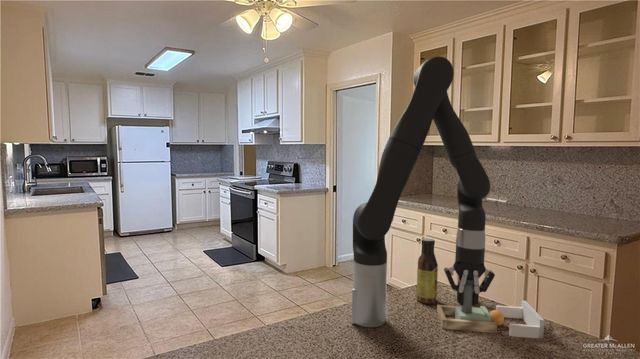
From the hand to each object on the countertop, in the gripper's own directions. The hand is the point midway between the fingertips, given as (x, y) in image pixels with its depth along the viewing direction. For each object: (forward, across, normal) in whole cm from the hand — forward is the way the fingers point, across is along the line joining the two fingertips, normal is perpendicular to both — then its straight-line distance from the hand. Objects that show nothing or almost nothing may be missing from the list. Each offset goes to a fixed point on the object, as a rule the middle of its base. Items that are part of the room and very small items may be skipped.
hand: (467, 304), depth 110 cm
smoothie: (+5, +3, +16) cm, 17 cm away
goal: (+5, +14, 0) cm, 15 cm away
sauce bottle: (+5, -9, +14) cm, 18 cm away
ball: (+3, +8, 0) cm, 8 cm away
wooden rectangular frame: (+5, 0, 0) cm, 5 cm away
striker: (+5, +1, 0) cm, 5 cm away
